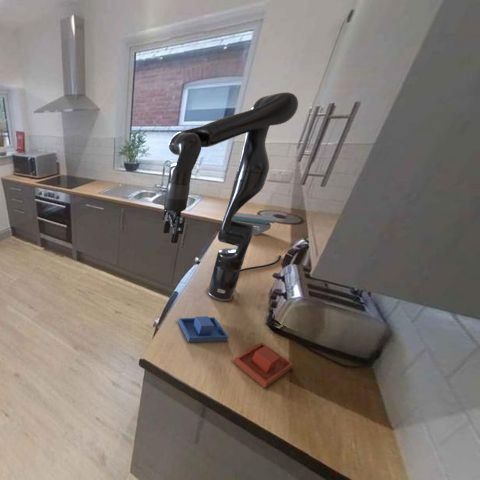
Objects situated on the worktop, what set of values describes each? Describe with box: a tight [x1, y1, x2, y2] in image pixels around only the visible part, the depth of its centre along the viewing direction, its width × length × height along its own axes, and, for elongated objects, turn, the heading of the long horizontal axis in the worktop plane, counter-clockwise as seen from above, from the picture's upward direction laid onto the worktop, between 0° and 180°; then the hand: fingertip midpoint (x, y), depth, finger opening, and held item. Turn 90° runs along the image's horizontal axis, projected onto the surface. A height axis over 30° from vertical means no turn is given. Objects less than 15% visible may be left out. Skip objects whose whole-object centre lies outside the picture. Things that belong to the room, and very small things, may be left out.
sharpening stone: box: [233, 212, 276, 236], centre depth 164 cm, size 25×8×11 cm, turn 64°
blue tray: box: [177, 316, 229, 343], centre depth 89 cm, size 13×9×2 cm
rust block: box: [251, 346, 280, 374], centre depth 76 cm, size 4×4×4 cm
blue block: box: [193, 315, 214, 336], centre depth 88 cm, size 4×4×4 cm
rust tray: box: [233, 342, 294, 389], centre depth 77 cm, size 13×9×2 cm
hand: (169, 237), depth 94 cm, fingers open, 8 cm apart
